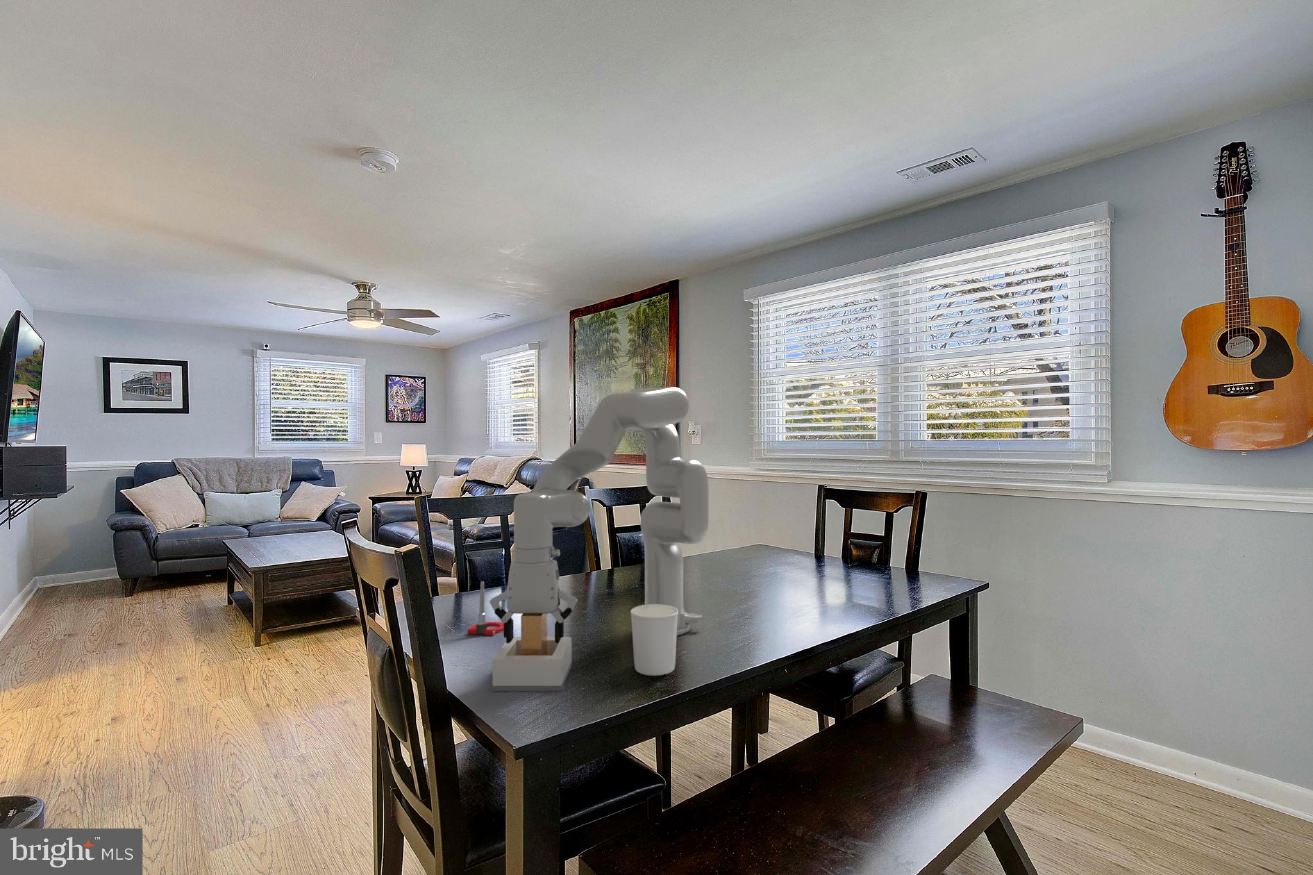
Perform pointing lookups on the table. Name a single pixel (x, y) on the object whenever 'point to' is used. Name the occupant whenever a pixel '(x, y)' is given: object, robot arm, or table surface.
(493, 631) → the tow hook
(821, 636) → the table surface
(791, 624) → the table surface
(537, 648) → the wooden square beam
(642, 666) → the candle holder
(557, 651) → the well
